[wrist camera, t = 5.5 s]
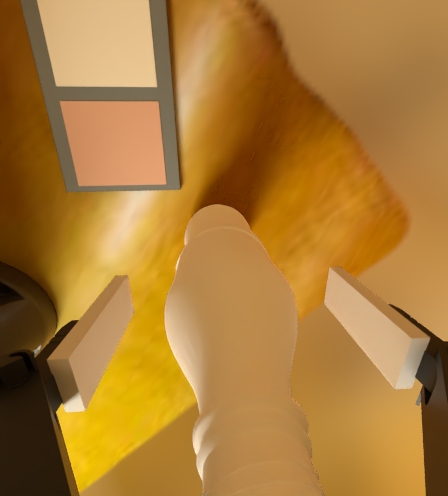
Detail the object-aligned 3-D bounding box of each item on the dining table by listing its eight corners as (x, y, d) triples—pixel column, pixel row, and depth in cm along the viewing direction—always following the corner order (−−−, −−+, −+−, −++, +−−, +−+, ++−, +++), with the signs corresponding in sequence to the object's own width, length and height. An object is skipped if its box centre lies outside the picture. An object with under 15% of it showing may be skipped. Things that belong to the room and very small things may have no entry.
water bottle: (246, 254, 30) (395, 591, 6) (190, 259, 29) (133, 633, 6) (245, 198, 27) (481, 416, 4) (183, 202, 27) (41, 471, 4)
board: (71, 191, 26) (66, 192, 25) (18, -30, 19) (9, -39, 18) (180, 188, 26) (179, 189, 26) (164, -25, 20) (162, -33, 19)
